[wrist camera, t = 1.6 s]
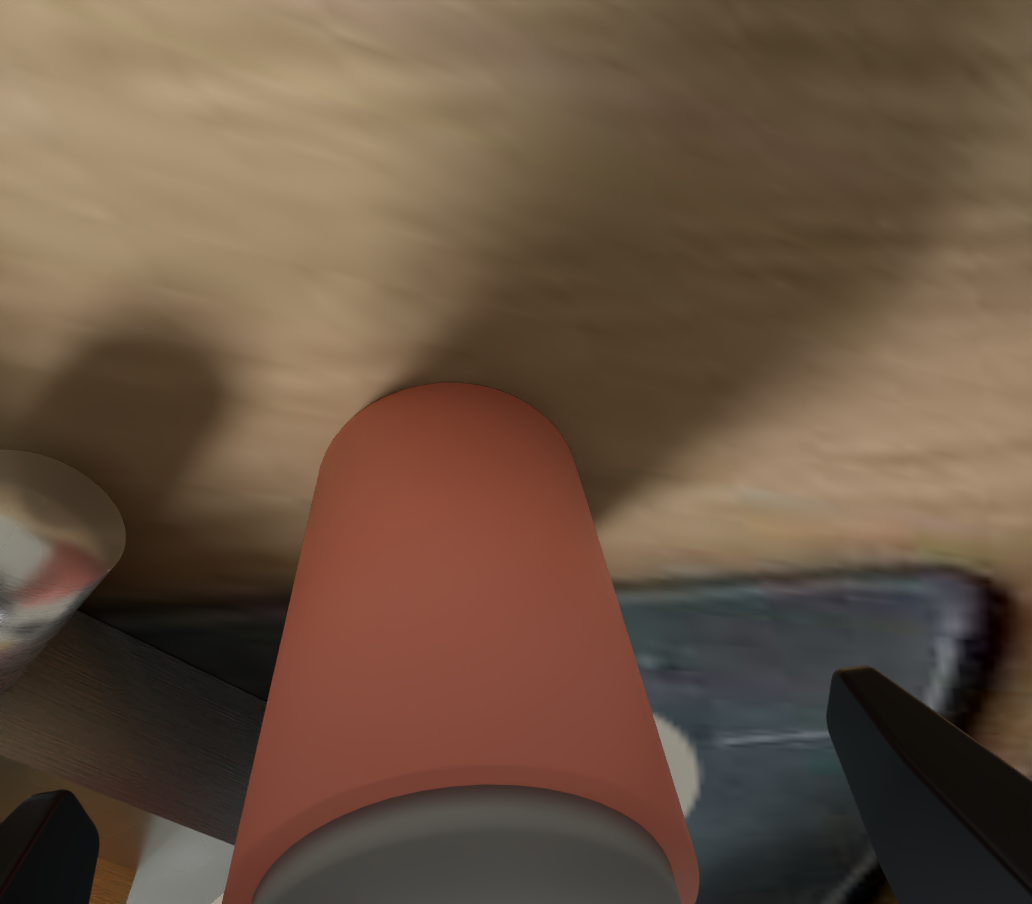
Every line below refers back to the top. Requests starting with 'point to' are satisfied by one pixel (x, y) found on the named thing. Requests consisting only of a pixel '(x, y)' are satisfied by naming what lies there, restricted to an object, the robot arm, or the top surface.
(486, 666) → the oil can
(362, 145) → the top surface
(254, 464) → the top surface
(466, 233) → the top surface
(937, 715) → the robot arm
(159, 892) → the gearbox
